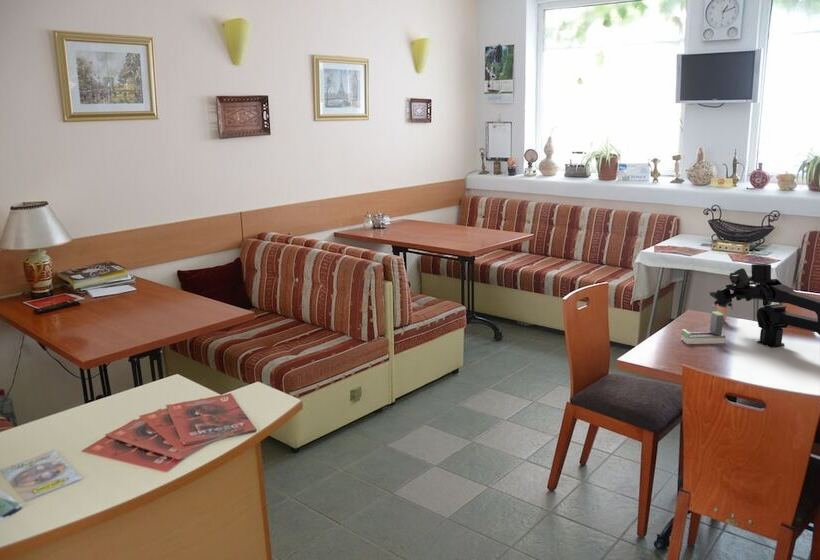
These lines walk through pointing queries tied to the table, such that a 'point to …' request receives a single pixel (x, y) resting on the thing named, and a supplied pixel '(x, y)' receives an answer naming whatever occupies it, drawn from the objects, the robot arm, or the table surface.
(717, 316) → the fader tab
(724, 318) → the grandmother figurine
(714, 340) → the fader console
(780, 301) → the robot arm
